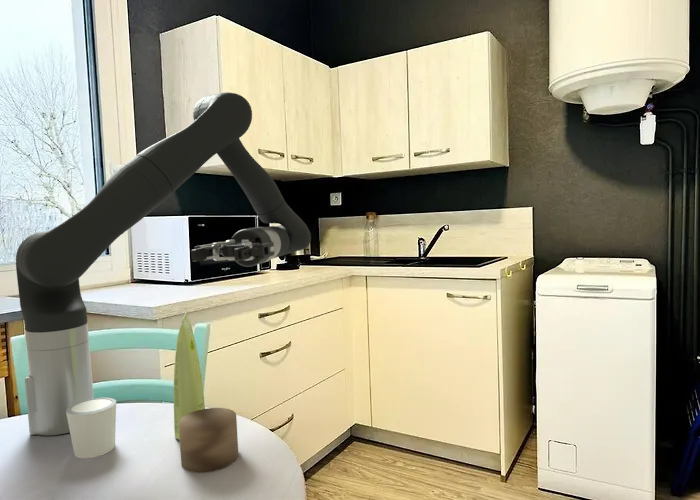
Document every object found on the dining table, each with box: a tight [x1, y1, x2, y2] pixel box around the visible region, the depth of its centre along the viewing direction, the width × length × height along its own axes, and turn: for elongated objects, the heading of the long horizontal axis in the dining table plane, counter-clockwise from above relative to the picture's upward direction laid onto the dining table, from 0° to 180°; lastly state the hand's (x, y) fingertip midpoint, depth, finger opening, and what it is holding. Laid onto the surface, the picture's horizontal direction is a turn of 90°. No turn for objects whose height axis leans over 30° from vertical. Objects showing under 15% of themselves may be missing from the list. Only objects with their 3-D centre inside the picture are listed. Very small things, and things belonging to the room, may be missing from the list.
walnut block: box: [179, 407, 239, 474], centre depth 74 cm, size 8×8×6 cm
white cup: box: [66, 397, 117, 459], centre depth 78 cm, size 7×7×7 cm
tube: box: [173, 310, 206, 441], centre depth 81 cm, size 6×5×20 cm
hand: (214, 255), depth 89 cm, fingers open, 8 cm apart
